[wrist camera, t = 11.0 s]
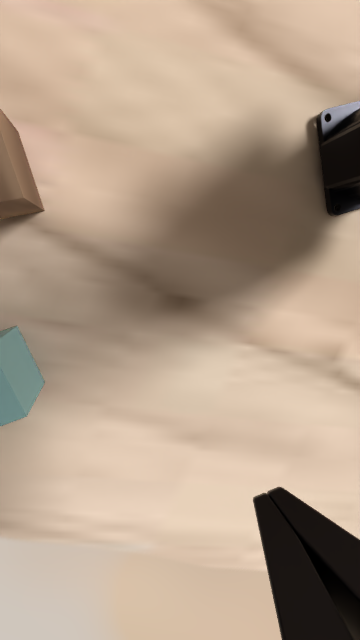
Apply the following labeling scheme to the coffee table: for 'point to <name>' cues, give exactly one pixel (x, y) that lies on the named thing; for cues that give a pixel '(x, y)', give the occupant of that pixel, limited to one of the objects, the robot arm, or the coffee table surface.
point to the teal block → (17, 377)
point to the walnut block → (15, 175)
